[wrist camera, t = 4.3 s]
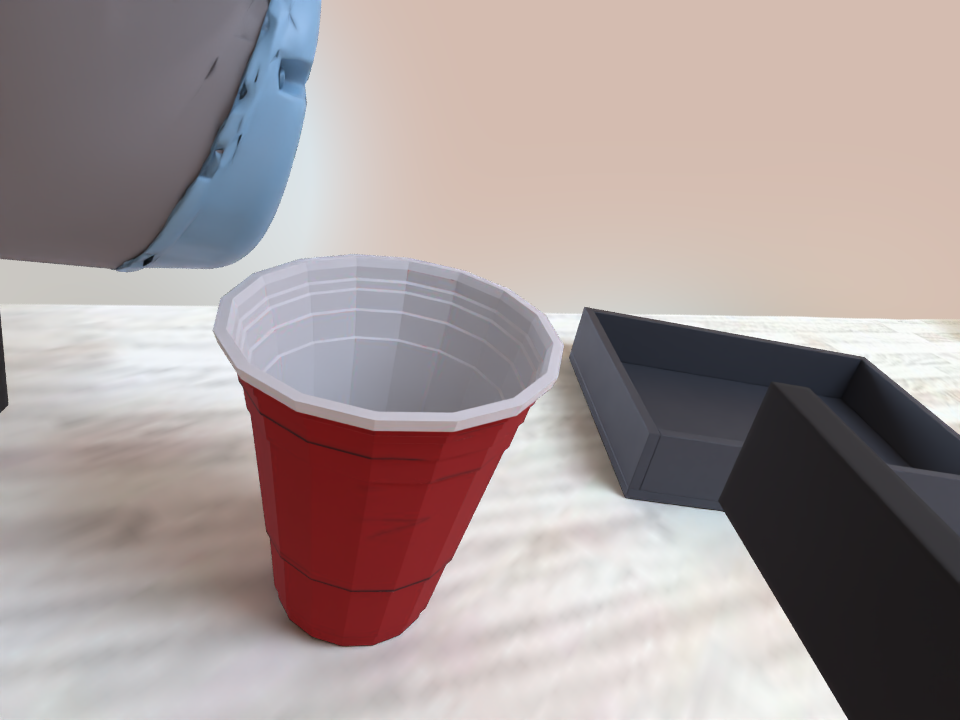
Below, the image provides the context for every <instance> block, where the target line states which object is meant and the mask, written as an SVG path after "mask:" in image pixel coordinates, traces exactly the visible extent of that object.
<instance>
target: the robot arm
mask: <svg viewBox="0 0 960 720" xmlns="http://www.w3.org/2000/svg"><path fill="white" fill-rule="evenodd" d="M320 13H321V0H0V259H8V260H19V261H31V262H42V263H53V264H64V265H75V266H86V267H97V268H108V269H112V270H116V271H120V272H132V271H138V270H140V269H143V268H191V269H213V268H219V267H224V266H228V265H230V264H233V263H235V262H237V261H239V260H240V259H242V258H243V257H245V256H246V255H247V254H248V253H249V252H251V251H252V250H253V249H254V248H255V246H257V244H258V243H259V242H260V240H261V239H262V238H263V236H264V234H265V233H266V231H267V229H268V227H269V226H270V224H271V222H272V220H273V218H274V216H275V214H276V211H277V209H278V206H279V204H280V201H281V198H282V196H283V193H284V190H285V187H286V184H287V181H288V178H289V174H290V171H291V168H292V164H293V160H294V158H295V154H296V151H297V147H298V143H299V139H300V135H301V130H302V126H303V120H304V116H305V111H306V105H307V102H306V91H305V83H306V81H307V80H308V78H309V75H310V71H311V67H312V64H313V60H314V55H315V51H316V46H317V41H318V33H319V23H320ZM7 406H8V395H7V384H6V373H5V361H4V350H3V339H2V328H1V316H0V413H1V412H2V411H3V410H4V409H5V408H6V407H7ZM718 502H719V503H720V505H721V507H722V508H723V510H724V512H725V513H726V515H727V517H728V519H729V520H730V522H731V524H732V525H733V527H734V529H735V530H736V532H737V534H738V535H739V537H740V539H741V540H742V542H743V544H744V545H745V547H746V549H747V550H748V552H749V554H750V555H751V557H752V559H753V560H754V562H755V564H756V566H757V567H758V569H759V571H760V572H761V574H762V576H763V577H764V579H765V581H766V582H767V584H768V586H769V587H770V589H771V591H772V592H773V594H774V596H775V597H776V599H777V601H778V602H779V604H780V606H781V607H782V609H783V611H784V613H785V614H786V616H787V618H788V619H789V621H790V623H791V624H792V626H793V628H794V629H795V631H796V633H797V634H798V636H799V638H800V639H801V641H802V643H803V644H804V646H805V648H806V649H807V651H808V653H809V654H810V656H811V658H812V659H813V661H814V663H815V665H816V666H817V668H818V670H819V671H820V673H821V675H822V676H823V678H824V680H825V681H826V683H827V685H828V686H829V688H830V690H831V691H832V693H833V695H834V696H835V698H836V700H837V701H838V703H839V705H840V706H841V708H842V710H843V712H844V713H845V715H846V717H847V718H848V720H960V536H959V535H958V534H957V533H956V532H955V531H954V530H953V529H952V528H951V527H950V526H949V525H948V524H946V523H945V522H944V521H943V520H942V519H941V518H940V517H939V516H938V515H937V514H936V513H935V512H934V511H933V510H932V509H931V508H930V507H929V506H928V505H927V504H926V503H925V502H924V501H923V500H922V499H921V498H920V497H919V496H918V495H917V494H916V493H915V492H914V491H913V490H912V489H911V488H910V487H909V486H908V485H907V484H906V483H905V482H904V481H903V480H902V479H901V478H900V477H899V476H898V475H897V474H896V473H895V472H894V471H893V470H892V469H891V468H890V467H889V466H888V465H887V464H886V463H885V462H884V461H883V460H882V459H881V458H880V457H879V456H878V455H877V454H876V453H875V452H874V451H873V450H872V449H871V448H870V447H869V446H868V445H867V444H866V443H865V442H864V441H863V440H862V439H860V438H859V437H858V436H857V435H856V434H855V433H854V432H853V431H852V430H851V429H850V428H849V427H848V426H847V425H846V424H845V423H844V422H843V421H842V420H841V419H840V418H839V417H838V416H837V415H836V414H835V413H834V412H833V411H832V410H831V409H830V408H829V407H828V406H827V405H826V404H825V403H824V402H823V401H822V400H821V399H820V398H819V397H818V396H817V395H816V394H815V393H814V392H813V391H812V390H811V389H810V388H808V387H802V386H796V385H790V384H784V383H778V382H772V381H771V383H770V385H769V388H768V390H767V392H766V394H765V397H764V399H763V401H762V403H761V406H760V408H759V410H758V412H757V415H756V417H755V419H754V421H753V424H752V426H751V428H750V430H749V433H748V435H747V437H746V439H745V442H744V444H743V446H742V448H741V451H740V453H739V455H738V457H737V460H736V462H735V464H734V466H733V468H732V471H731V473H730V475H729V477H728V480H727V482H726V484H725V486H724V489H723V491H722V493H721V495H720V498H719V500H718Z"/></svg>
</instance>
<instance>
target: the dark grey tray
mask: <svg viewBox="0 0 960 720" xmlns="http://www.w3.org/2000/svg"><path fill="white" fill-rule="evenodd" d="M569 359H570V361H571V364H572V366H573V369H574V371H575V374H576V376H577V379H578V381H579V383H580V386H581V388H582V391H583V393H584V396H585V398H586V401H587V403H588V406H589V408H590V411H591V413H592V416H593V418H594V421H595V423H596V426H597V428H598V431H599V433H600V436H601V438H602V441H603V443H604V446H605V448H606V451H607V453H608V456H609V458H610V461H611V463H612V466H613V468H614V471H615V473H616V476H617V478H618V481H619V483H620V486H621V488H622V491H623V493H624V496H625V497H626V498H632V499H639V500H647V501H654V502H661V503H669V504H676V505H684V506H691V507H698V508H706V509H713V510H721V511H724V510H723V508H722V507H721V505H720V503H719V502H718V500H719V498H720V495H721V493H722V491H723V489H724V486H725V484H726V482H727V480H728V477H729V475H730V473H731V471H732V468H733V466H734V464H735V462H736V460H737V457H738V455H739V453H740V451H741V448H742V446H743V444H744V442H745V439H746V437H747V435H748V433H749V430H750V428H751V426H752V424H753V421H754V419H755V417H756V415H757V412H758V410H759V408H760V406H761V403H762V401H763V399H764V397H765V394H766V392H767V390H768V388H769V385H770V383H771V381H772V382H778V383H784V384H790V385H796V386H802V387H808V388H810V389H811V390H812V391H813V392H814V393H815V394H816V395H817V396H818V397H819V398H820V399H821V400H822V401H823V402H824V403H825V404H826V405H827V406H828V407H829V408H830V409H831V410H832V411H833V412H834V413H835V414H836V415H837V416H838V417H839V418H840V419H841V420H842V421H843V422H844V423H845V424H846V425H847V426H848V427H849V428H850V429H851V430H852V431H853V432H854V433H855V434H856V435H857V436H858V437H859V438H860V439H862V440H863V441H864V442H865V443H866V444H867V445H868V446H869V447H870V448H871V449H872V450H873V451H874V452H875V453H876V454H877V455H878V456H879V457H880V458H881V459H882V460H883V461H884V462H885V463H886V464H887V465H888V466H889V467H890V468H891V469H892V470H893V471H894V472H895V473H896V474H897V475H898V476H899V477H900V478H901V479H902V480H903V481H904V482H905V483H906V484H907V485H908V486H909V487H910V488H911V489H912V490H913V491H914V492H915V493H916V494H917V495H918V496H919V497H920V498H921V499H922V500H923V501H924V502H925V503H926V504H927V505H928V506H929V507H930V508H931V509H932V510H933V511H934V512H935V513H936V514H937V515H938V516H939V517H940V518H941V519H942V520H943V521H944V522H945V523H946V524H948V525H949V526H950V527H951V528H952V529H953V530H954V531H955V532H956V533H957V534H958V535H959V536H960V435H959V434H958V433H956V432H955V431H954V430H953V429H952V428H950V427H949V426H948V425H947V424H945V423H944V422H943V421H942V420H941V419H939V418H938V417H937V416H936V415H934V414H933V413H932V412H931V411H930V410H928V409H927V408H926V407H925V406H923V405H922V404H921V403H920V402H919V401H917V400H916V399H915V398H914V397H912V396H911V395H910V394H909V393H908V392H906V391H905V390H904V389H903V388H901V387H900V386H899V385H898V384H897V383H895V382H894V381H893V380H892V379H890V378H889V377H888V376H887V375H886V374H884V373H883V372H882V371H881V370H879V369H878V368H877V367H876V366H875V365H873V364H872V363H871V362H870V361H868V360H867V359H866V358H865V357H860V356H855V355H849V354H844V353H838V352H833V351H827V350H821V349H816V348H810V347H805V346H799V345H794V344H788V343H782V342H777V341H771V340H766V339H760V338H754V337H749V336H743V335H738V334H732V333H727V332H721V331H715V330H710V329H704V328H699V327H693V326H688V325H682V324H676V323H671V322H665V321H660V320H654V319H649V318H643V317H637V316H632V315H626V314H621V313H615V312H609V311H604V310H598V309H592V308H588V307H584V310H583V313H582V317H581V320H580V323H579V327H578V330H577V333H576V336H575V340H574V343H573V346H572V349H571V353H570V356H569Z"/></svg>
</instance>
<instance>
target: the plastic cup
mask: <svg viewBox="0 0 960 720" xmlns="http://www.w3.org/2000/svg"><path fill="white" fill-rule="evenodd" d="M213 332H214V335H215V337H216V340H217V342H218V344H219V346H220V347H221V349H222V350H223V352H224V353H225V355H226V356H227V358H228V360H229V361H230V363H231V364H232V366H233V367H234V369H235V370H236V372H237V375H238V380H239V382H240V384H241V385H242V387H243V390H244V395H245V401H246V406H247V409H248V411H249V412H250V414H251V421H252V428H253V436H254V443H255V451H256V458H257V466H258V473H259V481H260V488H261V496H262V503H263V511H264V518H265V526H266V532H267V534H268V535H269V537H270V544H271V554H272V565H273V575H274V585H275V588H276V589H277V591H278V596H279V599H280V601H281V603H282V605H283V607H284V609H285V611H286V613H287V615H288V617H289V619H290V620H291V621H292V622H294V623H295V624H296V625H298V626H299V627H300V628H301V629H303V630H304V631H305V632H307V633H308V634H309V635H310V636H312V637H315V638H318V639H321V640H324V641H327V642H331V643H334V644H337V645H340V646H357V645H375V644H377V643H380V642H382V641H385V640H388V639H390V638H393V637H396V636H398V635H400V634H401V633H402V632H403V631H404V630H406V629H407V628H408V627H409V626H410V625H411V624H412V623H413V622H414V621H415V620H416V619H417V618H418V616H419V614H420V613H421V612H422V611H423V610H424V609H425V608H426V606H427V604H428V602H429V600H430V598H431V596H432V593H433V591H434V589H435V587H436V585H437V583H438V581H439V579H440V577H441V574H442V572H443V570H444V568H445V566H446V564H447V563H449V562H450V561H451V560H452V558H453V556H454V554H455V552H456V550H457V548H458V545H459V543H460V541H461V539H462V537H463V535H464V533H465V531H466V529H467V527H468V525H469V523H470V521H471V519H472V516H473V514H474V512H475V510H476V508H477V506H478V504H479V502H480V500H481V498H482V496H483V494H484V492H485V490H486V488H487V485H488V483H489V481H490V479H491V477H492V475H493V473H494V471H495V469H496V467H497V465H498V463H499V461H500V459H501V456H502V454H503V452H504V451H505V450H506V449H507V448H508V447H509V446H510V444H511V442H512V439H513V437H514V435H515V433H516V431H517V428H518V426H519V425H520V424H522V423H523V422H524V420H525V417H526V415H527V413H528V411H529V409H530V407H531V406H532V405H534V404H535V401H536V400H537V399H538V398H540V397H541V396H542V395H543V394H545V393H546V392H547V391H548V390H550V389H551V388H552V386H553V385H554V383H555V381H556V380H557V378H558V376H559V370H560V365H561V359H562V354H563V349H564V344H563V343H562V341H561V339H560V338H559V336H558V334H557V333H556V331H555V329H554V328H553V326H552V324H551V323H550V321H549V319H548V318H547V316H546V315H545V314H544V313H543V312H541V311H540V310H538V309H537V308H535V307H534V306H533V305H531V304H530V303H529V302H527V301H526V300H524V299H523V298H522V297H520V296H519V295H518V294H516V293H515V292H513V291H512V290H511V289H508V288H506V287H503V286H501V285H499V284H496V283H493V282H491V281H489V280H486V279H484V278H481V277H479V276H476V275H474V274H472V273H469V272H466V271H464V270H461V269H456V268H452V267H447V266H443V265H438V264H434V263H430V262H425V261H421V260H416V259H412V258H402V257H388V256H374V255H373V256H372V255H360V254H349V255H338V256H327V257H316V258H304V259H298V260H295V261H291V262H288V263H285V264H282V265H278V266H275V267H272V268H269V269H266V270H262V271H259V272H256V273H253V274H251V275H250V276H249V277H248V278H246V279H245V280H244V281H242V282H241V283H240V284H238V285H237V286H236V287H234V288H233V289H232V290H230V291H229V292H228V293H227V294H225V295H224V296H223V297H221V300H220V304H219V308H218V312H217V316H216V320H215V324H214V328H213Z"/></svg>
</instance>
